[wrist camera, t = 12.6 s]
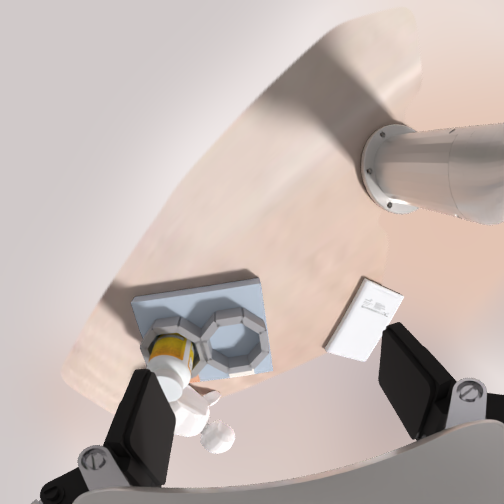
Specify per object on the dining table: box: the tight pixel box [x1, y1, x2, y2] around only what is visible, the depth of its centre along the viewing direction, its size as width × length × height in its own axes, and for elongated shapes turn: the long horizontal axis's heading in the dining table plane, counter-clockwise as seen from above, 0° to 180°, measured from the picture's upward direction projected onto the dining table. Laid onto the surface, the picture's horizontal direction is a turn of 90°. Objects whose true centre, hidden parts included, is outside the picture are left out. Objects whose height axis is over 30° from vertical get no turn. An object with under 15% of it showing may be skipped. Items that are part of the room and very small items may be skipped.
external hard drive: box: [325, 278, 404, 362], centre depth 42 cm, size 2×8×12 cm
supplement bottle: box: [146, 333, 195, 402], centre depth 33 cm, size 5×5×10 cm
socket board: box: [131, 278, 273, 383], centre depth 37 cm, size 17×14×4 cm
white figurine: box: [169, 385, 235, 454], centre depth 40 cm, size 8×8×15 cm
